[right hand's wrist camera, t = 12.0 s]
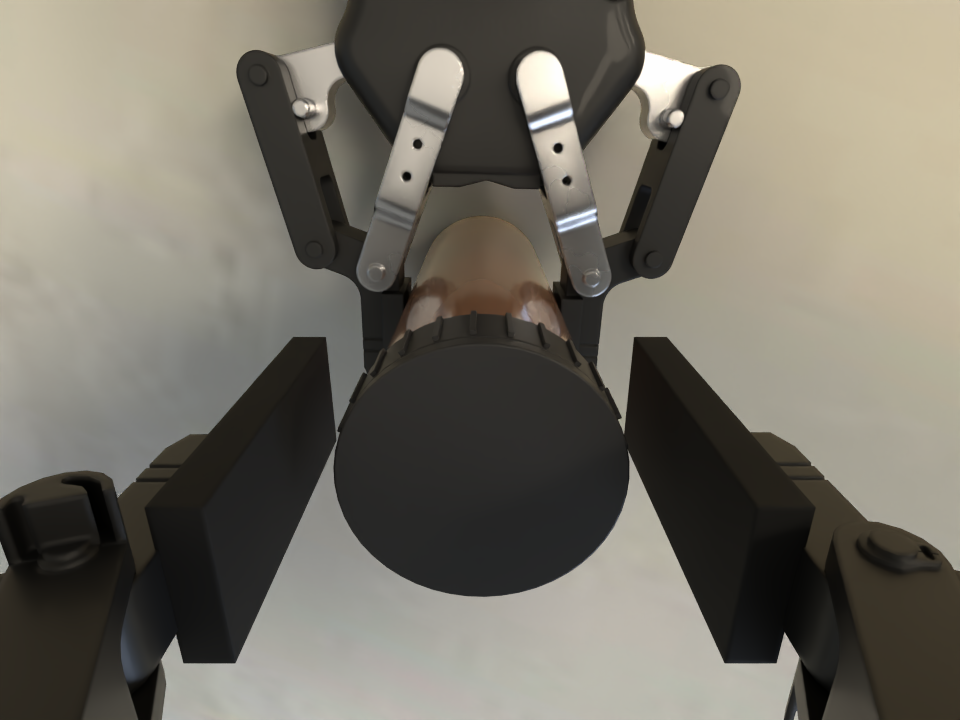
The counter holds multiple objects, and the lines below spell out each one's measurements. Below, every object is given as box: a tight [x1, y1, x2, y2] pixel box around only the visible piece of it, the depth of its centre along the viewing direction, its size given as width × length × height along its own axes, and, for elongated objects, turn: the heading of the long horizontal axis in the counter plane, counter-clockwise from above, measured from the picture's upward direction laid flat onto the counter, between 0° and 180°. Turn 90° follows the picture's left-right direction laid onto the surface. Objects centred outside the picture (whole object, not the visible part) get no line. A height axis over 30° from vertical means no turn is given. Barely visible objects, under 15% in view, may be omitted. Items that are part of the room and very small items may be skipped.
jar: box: [387, 216, 576, 350], centre depth 18 cm, size 5×5×15 cm
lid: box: [334, 310, 629, 597], centre depth 11 cm, size 5×5×2 cm
